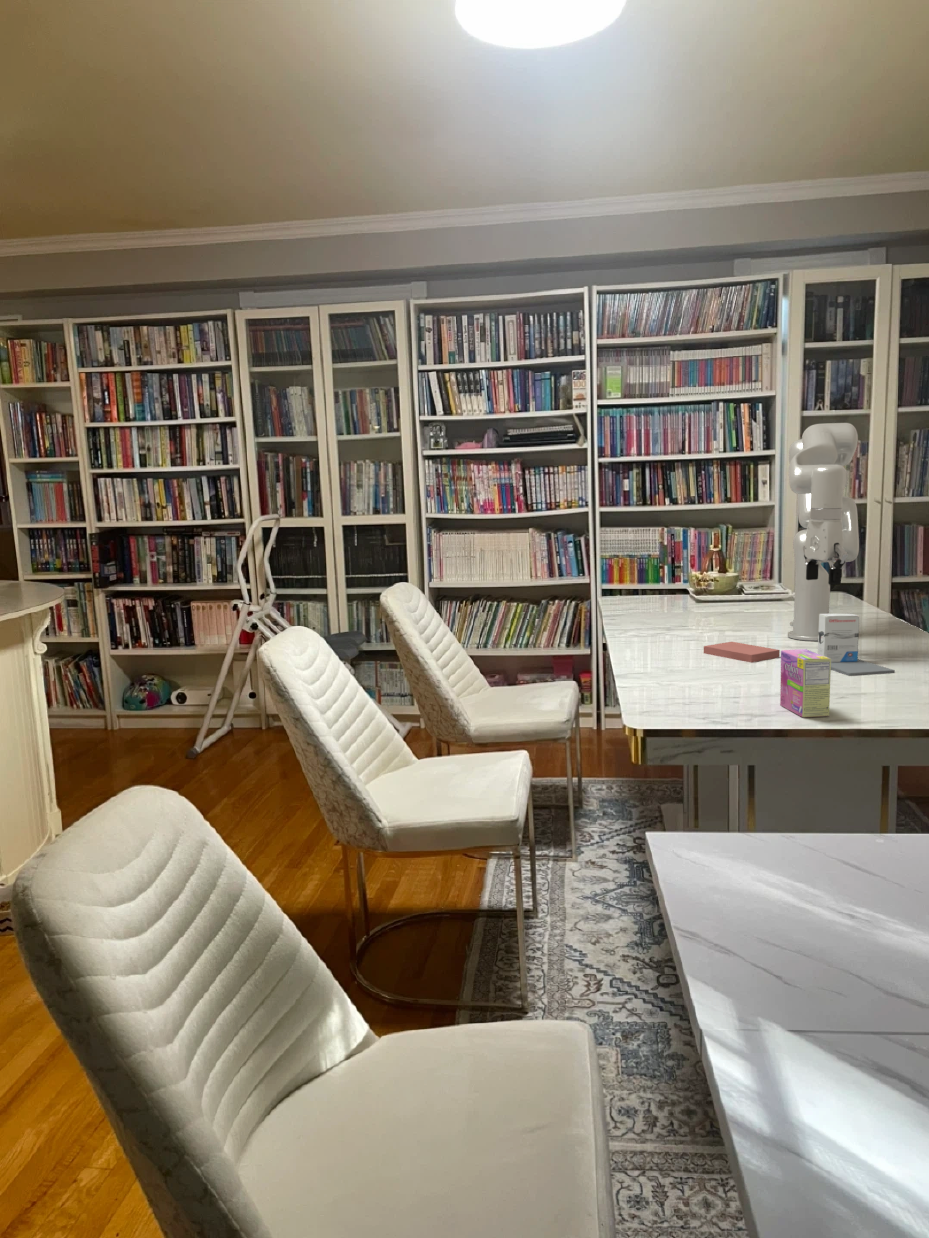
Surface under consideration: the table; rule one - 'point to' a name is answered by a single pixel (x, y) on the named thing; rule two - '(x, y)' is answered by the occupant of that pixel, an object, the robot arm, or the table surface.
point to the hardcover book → (741, 651)
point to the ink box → (839, 637)
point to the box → (805, 682)
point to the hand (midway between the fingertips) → (823, 582)
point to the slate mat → (859, 668)
